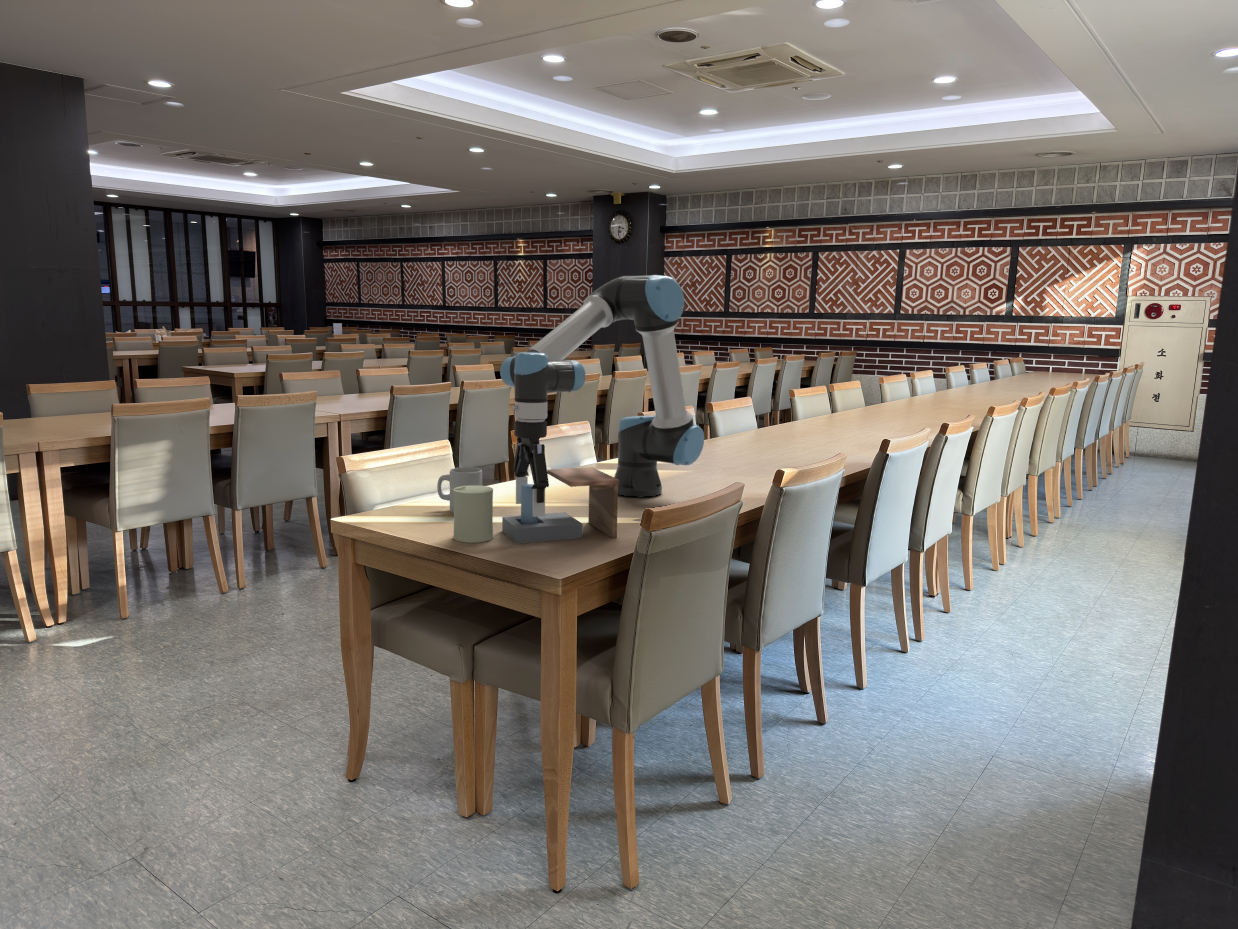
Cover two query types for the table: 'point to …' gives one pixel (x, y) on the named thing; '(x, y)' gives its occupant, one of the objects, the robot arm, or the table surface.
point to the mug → (459, 481)
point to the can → (473, 513)
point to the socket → (542, 528)
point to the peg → (527, 505)
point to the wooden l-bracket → (595, 495)
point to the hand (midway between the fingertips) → (529, 509)
